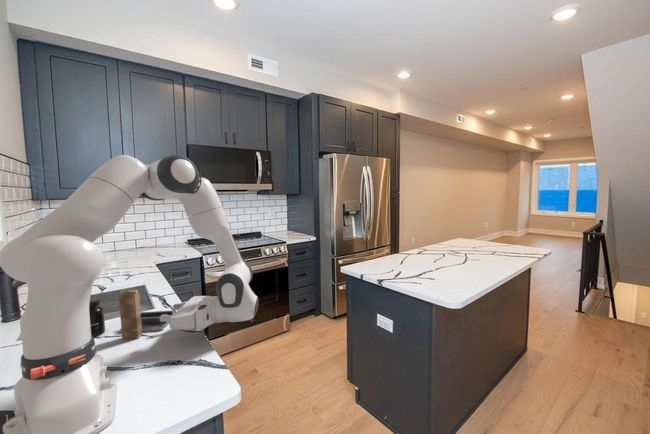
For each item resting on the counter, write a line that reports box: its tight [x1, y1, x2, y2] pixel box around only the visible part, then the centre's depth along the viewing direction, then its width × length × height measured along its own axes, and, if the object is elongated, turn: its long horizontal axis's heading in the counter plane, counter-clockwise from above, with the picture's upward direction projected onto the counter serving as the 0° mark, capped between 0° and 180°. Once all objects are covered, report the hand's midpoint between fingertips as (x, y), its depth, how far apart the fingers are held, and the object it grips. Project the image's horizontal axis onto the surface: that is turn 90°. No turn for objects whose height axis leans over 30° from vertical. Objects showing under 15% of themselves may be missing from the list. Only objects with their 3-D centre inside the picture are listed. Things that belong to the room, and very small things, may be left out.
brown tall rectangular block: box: [118, 289, 143, 341], centre depth 96 cm, size 5×2×16 cm, turn 95°
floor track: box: [119, 310, 175, 334], centre depth 105 cm, size 14×10×4 cm
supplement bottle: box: [89, 298, 106, 338], centre depth 99 cm, size 7×7×12 cm
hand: (167, 312), depth 97 cm, fingers open, 8 cm apart
